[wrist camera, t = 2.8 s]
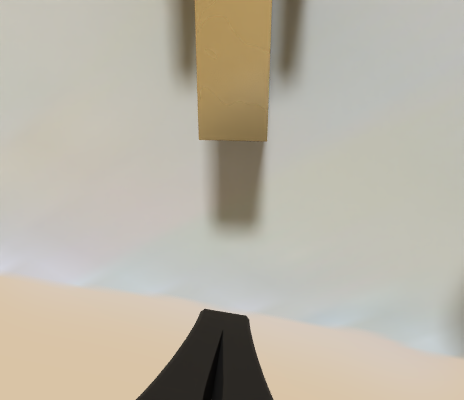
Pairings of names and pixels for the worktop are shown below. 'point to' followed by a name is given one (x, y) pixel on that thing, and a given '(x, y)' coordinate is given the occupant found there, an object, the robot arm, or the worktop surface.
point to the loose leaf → (233, 68)
